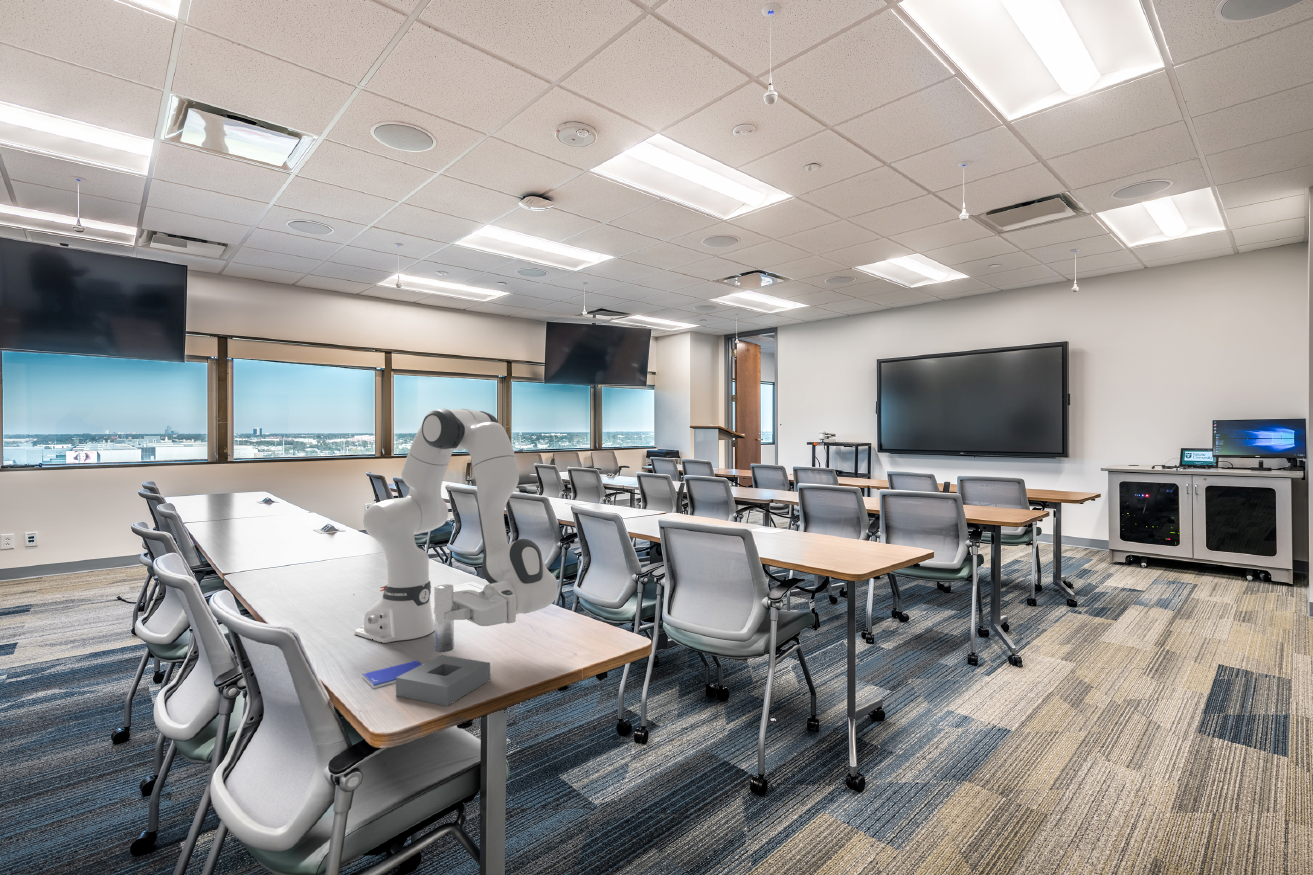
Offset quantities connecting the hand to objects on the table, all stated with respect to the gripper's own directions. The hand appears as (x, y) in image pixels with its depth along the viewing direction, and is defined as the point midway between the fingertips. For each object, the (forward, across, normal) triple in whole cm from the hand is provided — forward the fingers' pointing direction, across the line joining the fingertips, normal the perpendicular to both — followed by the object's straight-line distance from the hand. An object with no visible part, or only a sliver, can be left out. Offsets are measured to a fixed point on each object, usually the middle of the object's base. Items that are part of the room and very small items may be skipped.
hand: (440, 614), depth 130 cm
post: (-1, 0, +8) cm, 8 cm away
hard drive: (+4, -15, +17) cm, 23 cm away
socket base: (-1, 0, +17) cm, 17 cm away
